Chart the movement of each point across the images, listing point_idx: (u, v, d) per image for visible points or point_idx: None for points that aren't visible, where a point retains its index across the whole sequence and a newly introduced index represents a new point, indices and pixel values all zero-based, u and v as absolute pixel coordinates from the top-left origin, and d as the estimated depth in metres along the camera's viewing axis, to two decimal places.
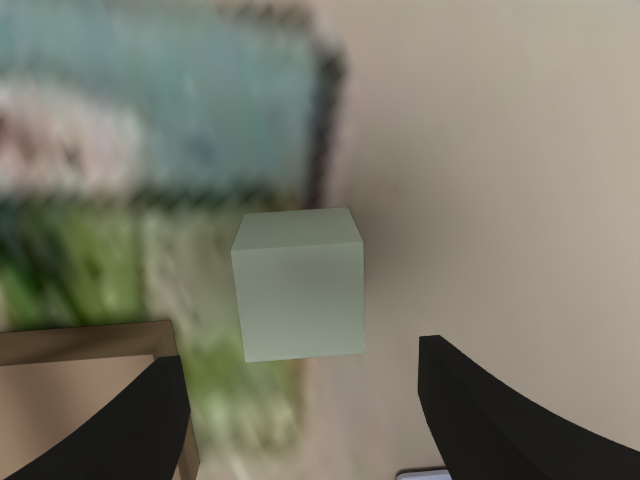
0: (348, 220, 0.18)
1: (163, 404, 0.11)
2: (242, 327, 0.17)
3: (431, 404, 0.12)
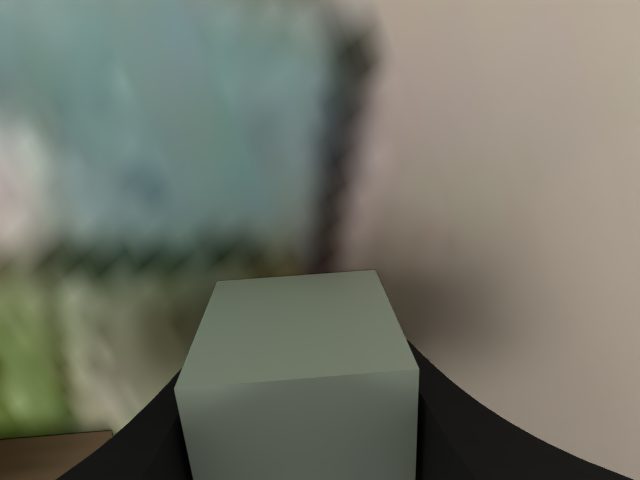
0: (382, 304, 0.11)
1: None
2: None
3: None
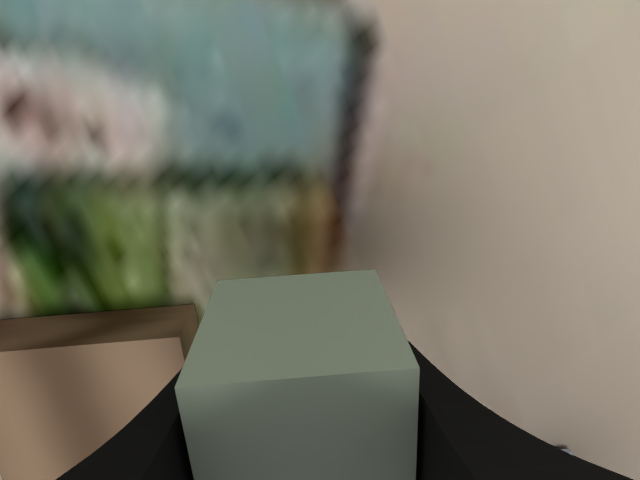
0: (382, 303, 0.11)
1: None
2: None
3: None
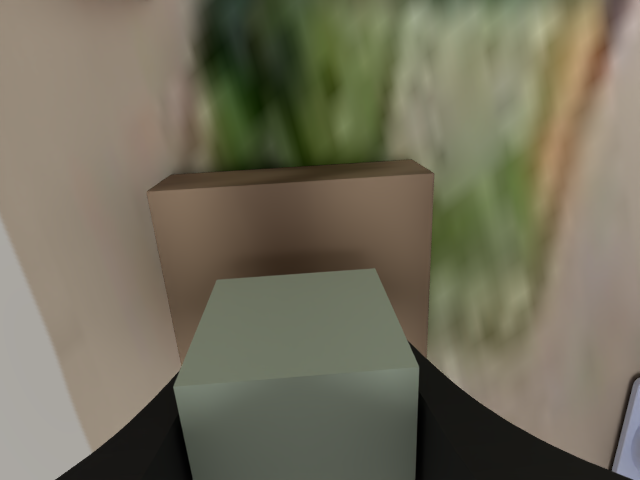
0: (382, 303, 0.11)
1: None
2: None
3: None
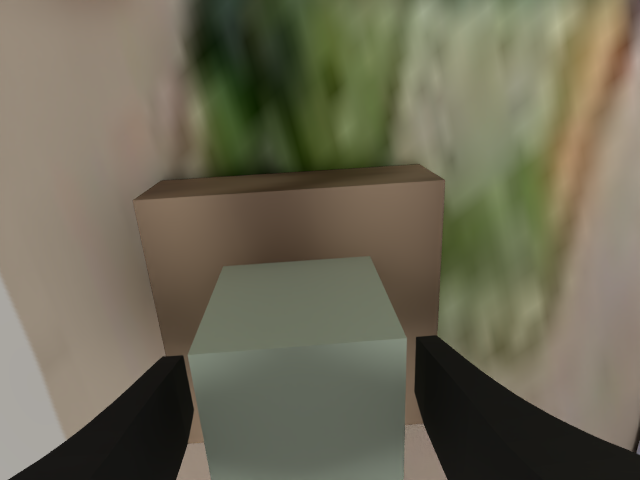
0: (375, 285, 0.12)
1: (167, 404, 0.11)
2: (211, 465, 0.11)
3: (427, 404, 0.12)
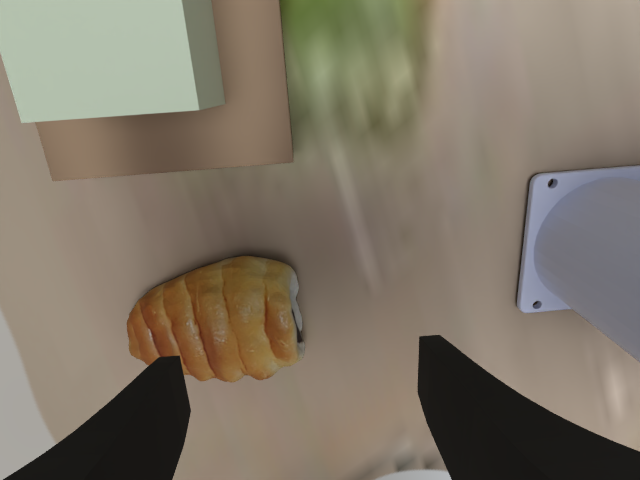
0: None
1: (163, 404, 0.11)
2: (4, 57, 0.11)
3: (431, 404, 0.12)
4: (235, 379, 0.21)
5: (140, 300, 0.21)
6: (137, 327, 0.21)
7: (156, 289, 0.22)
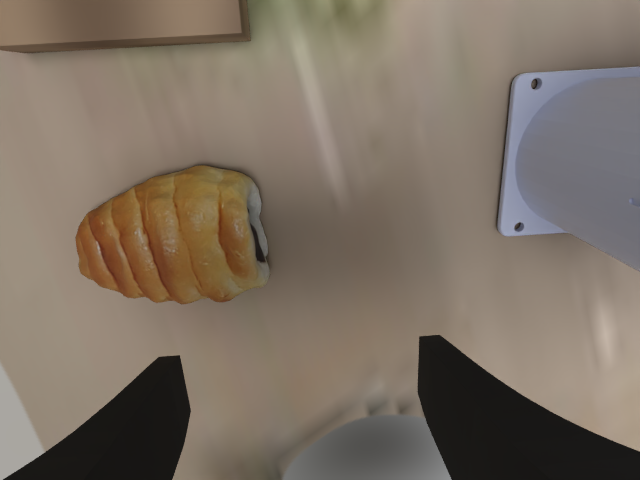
0: None
1: (163, 404, 0.11)
2: None
3: (431, 404, 0.12)
4: (190, 298, 0.20)
5: (89, 212, 0.20)
6: (84, 241, 0.20)
7: (107, 202, 0.20)
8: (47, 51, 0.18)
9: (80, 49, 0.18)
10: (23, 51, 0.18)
